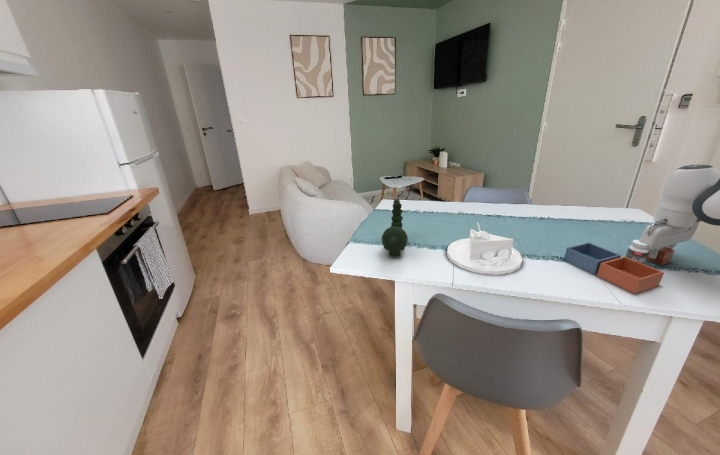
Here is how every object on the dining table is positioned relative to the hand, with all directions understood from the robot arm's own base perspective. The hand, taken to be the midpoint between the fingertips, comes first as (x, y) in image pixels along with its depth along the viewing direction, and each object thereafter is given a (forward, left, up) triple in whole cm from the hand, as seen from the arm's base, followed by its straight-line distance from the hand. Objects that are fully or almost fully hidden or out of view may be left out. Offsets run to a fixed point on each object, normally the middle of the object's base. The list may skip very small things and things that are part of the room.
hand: (658, 256), depth 95 cm
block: (0, 0, -2) cm, 2 cm away
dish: (+25, +49, -2) cm, 55 cm away
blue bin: (+7, +21, -2) cm, 22 cm away
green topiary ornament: (+43, +75, -2) cm, 87 cm away
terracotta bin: (-4, +21, -2) cm, 21 cm away
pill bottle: (+1, +10, -2) cm, 10 cm away
